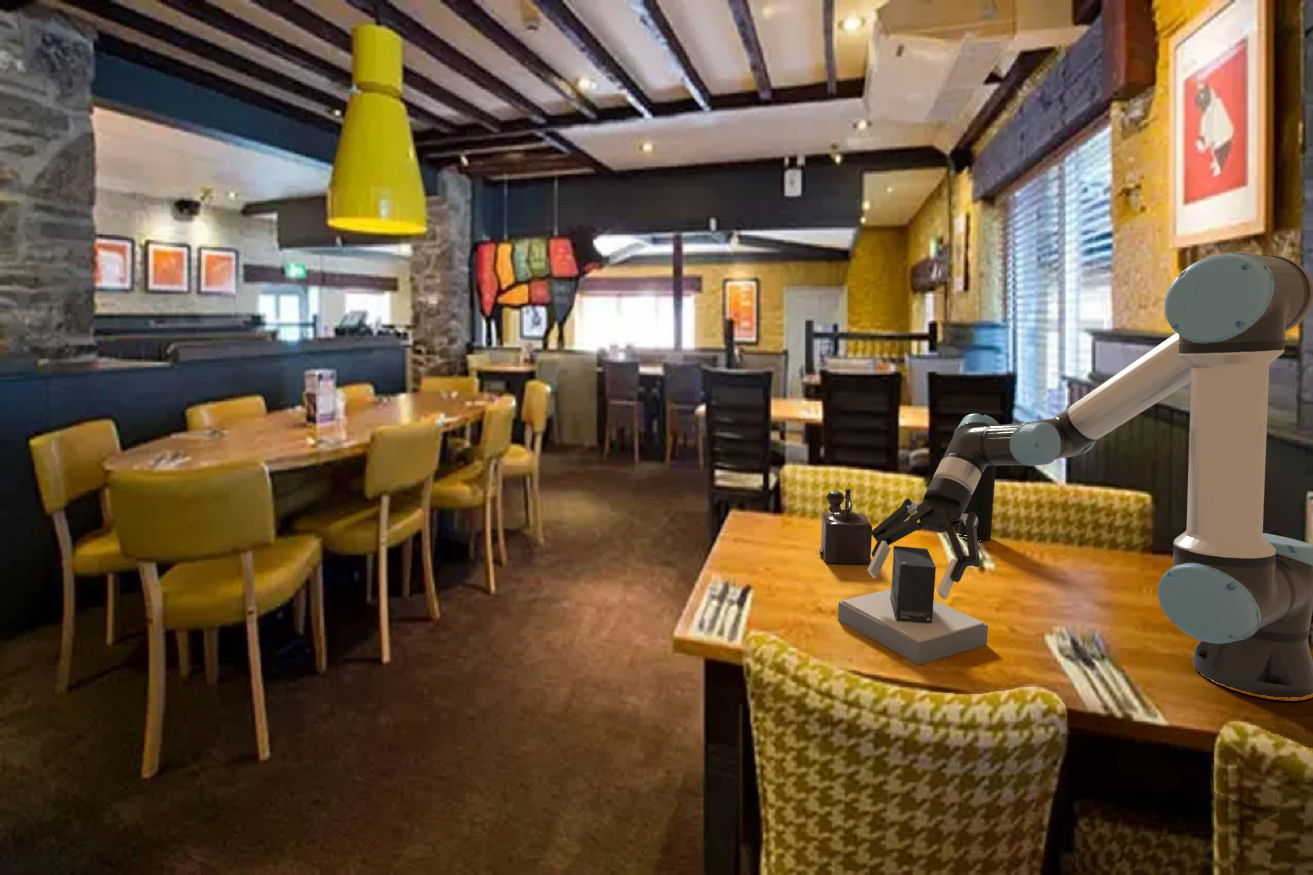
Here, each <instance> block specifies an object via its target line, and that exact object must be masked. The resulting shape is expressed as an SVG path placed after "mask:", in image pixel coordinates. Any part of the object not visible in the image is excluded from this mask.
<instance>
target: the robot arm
mask: <svg viewBox="0 0 1313 875" xmlns="http://www.w3.org/2000/svg"><path fill="white" fill-rule="evenodd" d="M1167 290H1168V291H1167V293H1166V295H1165V299H1164V314H1165V319H1166V321H1167V323H1168V325H1169V326H1170V327H1171V328H1172V330H1173V331H1174V332H1175V333H1174V334H1173V335H1170V337H1168V338H1167V339H1165V340H1163V341H1162V342H1161V343H1160V344H1158V345H1157V346H1155V347H1154V348H1152V349H1151V350H1150V351H1148V352H1146V353H1145V354H1143V355H1142V356H1141V357H1139V358H1138V359H1137V360H1135V361H1133V362H1132V363H1130V364H1128V366H1127V367H1125V368H1124V369H1122V370H1121V371H1119V372H1118V373H1116V374H1115V375H1114V376H1112V377H1110V378H1108V379H1107V380H1105V382H1103V383H1102V384H1101V385H1099V386H1098V387H1096V388H1094V389H1093V390H1092V391H1090V392H1088V394H1086V395H1084V396H1083V397H1081V398H1080V399H1079V400H1077V401H1076V402H1075V403H1072V404H1071V405H1070V406H1069V407H1067V408H1066V409H1064V410H1063V411H1061V412H1060V413H1059V414H1057V415H1056V416H1054V417H1052V418H1046V419H1040V420H1035V421H1027V422H1022V423H1021V422H1018V423H1008V424H1000V423H999V422H998V421H997V420H995V419H994V418H993V417H991V416H989V415H988V414H984V415H982V414H980V413H971V414H968V415H965V416H963V418H962V419H961V421H960V423H959V425H958V426H957V428H956V429H955V430H954V433H953V434H952V435H953V436H952V438H951V440H950V442H949V444H948V447H947V448H946V451H945V453H944V454H943V456H942V459H941V460H940V463H939V464H938V466H937V468H936V471H935V472H934V474H933V477H932V479H931V481H930V482H929V485H928V486H927V488H926V490H925V493H924V494H923V495H924V497H923V499H922V501H920V502H919V503H916V502H913V501H912V500H911V498H905V499H904V500H903V501H902V503H901V505H900V506H899V507H898V508H897V509H896V510H895V511H894V512H892V513H891V514H890V515H889V516H888V517H886V518H885V519H884V520H883V521H882V522H880V523H879V524H878V525H877V526H876V527H875V528H872V531H871V534H872V538H874V540H875V541H876V544H875V545H874V546H873V547H874V548H873V549H872V550H871V556H872V559H871V560H870V565H869V566H868V568H867V572H868V574H869V576H871V577H872V578H873V579H877V578H878V576H879V574H880V571H881V570H882V569H883V568H882V567H883V566H884V563H885V561H886V559H887V557H888V556H889V553H890V552H891V547H890V545H892V544H894V543H896V542H898V541H899V540H901V539H903V538H905V537H907V536H908V535H910V534H913V533H914V532H916V531H917V532H918V531H921V530H923V529H925V530H926V531H935V532H936V533H939V534H943V533H945V532H946V534H947V536H948V539H949V541H950V543H951V546H952V549H953V551H954V554H955V557H956V559H955V558H951V559H950V561H949V563H948V566H947V567H946V570H945V572H944V575H942V576H943V577H942V579H941V581H940V583H939V585H938V588H937V590H936V592H937V594H938V595H939V596H940V598H941V599H942V600H947V598H948V596H949V594H950V591H951V590H952V587H953V585H954V584H955V583H959V582H960V581H961V579H962V577H963V575H964V573H965V571H966V569H967V568H968V567H975V568H978V567H980V566H981V559H980V551H979V550H980V548H979V542H978V540H977V531H976V530H977V527H978V523H979V520H978V518H977V516H976V514H975V513H974V512H969V513H968V514H963V513H964V512H965V510H966V508H967V505H968V503H969V501H970V499H971V495H972V494H973V492H974V490H975V488H976V486H977V484H978V482H979V479H980V477H981V476H982V473H983V471H984V469H985V467H986V466H996V467H997V466H998V467H999V466H1027V467H1034V466H1044V465H1045V466H1046V465H1049V464H1052V463H1053V462H1054V461H1055V460H1059V459H1065V458H1075V457H1077V456H1079V455H1081V454H1085V453H1087V452H1089V451H1091V449H1093V447H1094V446H1095V445H1096V442H1097V441H1098V440H1100V439H1102V438H1103V437H1104V436H1106V435H1107V434H1109V433H1111V432H1112V431H1114V430H1115V429H1116V428H1118V427H1120V426H1122V425H1124V424H1125V423H1126V422H1128V421H1130V420H1132V419H1133V418H1135V417H1136V416H1138V415H1139V414H1141V413H1142V412H1144V411H1145V410H1147V409H1149V408H1151V407H1152V406H1154V405H1155V404H1157V403H1159V402H1160V401H1162V400H1163V399H1165V398H1167V397H1168V396H1169V395H1172V394H1173V393H1175V392H1176V391H1178V390H1179V389H1181V388H1182V387H1184V386H1186V385H1188V384H1189V383H1190V401H1189V402H1190V404H1189V408H1190V409H1189V436H1188V437H1189V441H1188V444H1189V445H1188V474H1187V503H1186V504H1187V507H1186V508H1187V510H1186V511H1187V513H1186V530H1185V531H1184V532H1182V533H1181V534H1180V535H1178V536H1177V537H1175V539H1174V540H1173V553H1172V555H1173V556H1172V557H1173V559H1172V560H1173V561H1172V563H1173V564H1172V567H1170V568H1169V569H1168V570H1167V571H1165V573H1164V574H1163V576H1162V577H1161V578H1160V580H1159V583H1158V586H1157V598H1158V599H1157V600H1158V602H1159V605H1160V607H1161V609H1162V612H1163V613H1164V615H1165V616H1166V617H1167V619H1168V620H1169V621H1171V622H1172V624H1174V625H1175V626H1176V628H1177V629H1178V630H1180V631H1181V632H1183V633H1184V634H1186V635H1188V636H1189V637H1190V638H1193V639H1195V640H1198V642H1197V645H1196V646H1195V647H1194V650H1193V656H1192V663H1193V664H1192V667H1193V666H1194V667H1195V669H1196V670H1198V671H1199V672H1200V673H1201V674H1203V675H1204V676H1206V677H1207V678H1210V679H1212V680H1214V681H1215V682H1217V683H1220V684H1223V685H1225V686H1227V687H1233V688H1235V689H1238V690H1241V691H1246V692H1250V693H1253V694H1258V695H1266V696H1271V697H1272V696H1273V697H1284V698H1285V697H1288V698H1290V697H1303V696H1306V695H1310V694H1312V693H1313V656H1312V652H1311V649H1310V646H1309V634H1310V629H1311V624H1312V623H1311V622H1312V618H1313V617H1312V616H1313V545H1312V544H1311V543H1308V542H1305V541H1302V540H1298V539H1294V538H1290V537H1285V536H1280V535H1276V534H1271V533H1266V532H1263V531H1264V527H1263V526H1264V510H1265V509H1264V502H1265V478H1266V455H1267V433H1268V432H1267V431H1268V430H1267V429H1268V406H1269V404H1268V403H1269V402H1268V401H1269V380H1270V365H1271V364H1272V362H1274V361H1275V360H1276V359H1278V358H1279V357H1280V356H1281V355H1283V354H1284V353H1285V350H1286V349H1285V348H1286V333H1288V332H1289V331H1290V330H1291V329H1293V328H1295V327H1297V325H1298V324H1300V323H1301V322H1302V321H1303V320H1304V319H1305V317H1307V315H1308V314H1309V312H1310V310H1311V309H1312V306H1313V277H1312V276H1311V275H1310V273H1309V272H1308V270H1306V269H1305V267H1303V266H1302V265H1301V264H1300V263H1298V262H1296V261H1294V260H1292V259H1290V258H1287V257H1284V256H1278V255H1264V254H1263V255H1260V254H1249V253H1243V252H1236V253H1230V252H1228V253H1225V254H1218V255H1213V256H1208V257H1205V258H1202V259H1199V260H1198V261H1196V262H1194V263H1192V264H1190V265H1189V266H1187V267H1185V269H1184V270H1182V271H1181V273H1180V274H1178V276H1176V277H1175V279H1174V280H1173V281H1172V282H1171V285H1170V286H1169V288H1168V289H1167ZM918 521H919V522H918ZM962 521H963V522H964V524H965V526H966V535H967V541H966V543H967V553H968V555H966V554H965V552H964V550H963V546H962V544H961V543H960V540H959V537H958V534H957V532H956V530H955V526H957V525H959V523H960V522H962ZM1194 667H1193V668H1194ZM1195 669H1194V670H1195ZM1196 670H1195V671H1196Z"/></svg>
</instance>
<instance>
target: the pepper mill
mask: <svg viewBox="0 0 1313 875" xmlns="http://www.w3.org/2000/svg"><path fill="white" fill-rule="evenodd" d="M851 493H852V490H851V489H850V488H846V489H845V494H844V493H842V492H841V491H838V490H833V491H830V492H828V494H827V495H826V501H827V503H828V505H829V507H828V509H827V510H828V511H829V512H822V515H821V538H820V542H821V544H820V548H819V549H820V550H819V555H820V556H821V558H822V559H823V562H825V563H826V564H832V565H849V566H868V565H870V563H871V556H872V542H873V541H872V539H873V536H872V534H871V531H872V530H873V525H872V524H871V522H870V520H869V519H868V517H867V516H866V514H865V513H858V512H855V511H852V509H853V504H852V494H851ZM844 501H845V503H844ZM843 503H844V504H845V506H844V509H842V507H841V505H842V504H843Z"/></svg>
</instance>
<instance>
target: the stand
mask: <svg viewBox="0 0 1313 875" xmlns="http://www.w3.org/2000/svg"><path fill="white" fill-rule="evenodd" d="M890 595H891V588H890V589H886V590H885V589H884V590H881V591H876V592H873V593H869V594H863V595H860V596H856V597H855V596H854V597H852V598H847V599H843V600H841V601H838V610H837V611H838V612H837V614H838V615H837V621H838V622H840V623H843V624H844V625H846V626H848V627H849V628H852V629H853V630H855V631H857V632H858V633H860V634H862V635H864V636H866V637H867V638H869V639H872V641H875V642H876V643H878V644H879V645H882V646H884V647H886V648H887V649H889V650H890V651H893V652H894V653H896V654H898V655H900V656H901V657H902V658H905V659H907V660H909V661H910V662H912V663H913V664H915V665H917V666H921V665H923V664H924V665H925V664H927V663H930V662H934V661H937V660H940V659H944V658H947V657H950V656H954V655H957V654H960V653H963V652H967V651H970V650H974V649H977V648H981V647H984V646H987V645H988V633H989V632H988V631H989V625H988V624H986V623H985V622H984V621H982V620H979V619H977V618H975V617H972V616H970V615H967V614H966V613H964V612H961V611H959V610H957V609H954V608H952V607H950V606H948V605H945V604H944V603H941V602H938V601H936V600H934V601H933V615H932V623H924V622H912V621H900V620H895V616H894V612H893V607H892V603H891V599H890Z"/></svg>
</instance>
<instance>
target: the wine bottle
mask: <svg viewBox="0 0 1313 875" xmlns="http://www.w3.org/2000/svg"><path fill="white" fill-rule="evenodd" d="M996 468H997V466H986V467H985V469H984V471H983V473H982V476H981V477H980V479H979V482H978V484H977V486H976V488H975V490H974V492H973V494H972V495H971V499H970V501H969V503H968V505H967V508H966V510H965V512H964V513H963V514H968V513H969V512H974V513H975V514H976V516H977V518H978V520H979V523H978V527H977V530H976V531H977V540H978V541H980V540H981V542H980V543H984V542H983V541H987V542H990V541H991V539H992V523H993V509H994V499H995V498H994V497H995V496H994V495H995V483H996V472H997V469H996ZM958 534H961V535H958ZM958 534H957V537H958V536H960V537H965V538H967V536H964V535H966V526H965V524H964V522H963V521H962V522H960V523H959V524H958Z"/></svg>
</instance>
